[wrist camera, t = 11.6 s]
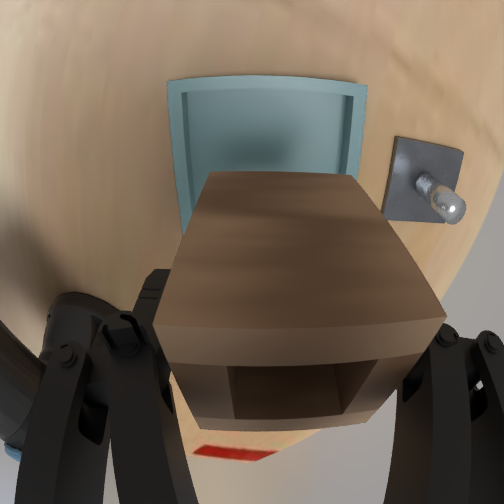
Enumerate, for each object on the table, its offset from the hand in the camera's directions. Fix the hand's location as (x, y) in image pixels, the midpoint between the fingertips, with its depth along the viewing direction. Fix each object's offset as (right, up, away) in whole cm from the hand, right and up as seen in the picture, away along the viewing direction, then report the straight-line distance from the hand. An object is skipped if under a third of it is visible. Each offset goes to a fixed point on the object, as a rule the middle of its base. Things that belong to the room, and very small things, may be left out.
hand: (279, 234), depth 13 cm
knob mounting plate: (+15, +6, +10) cm, 19 cm away
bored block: (0, 0, 0) cm, 0 cm away
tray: (0, +7, +9) cm, 11 cm away
